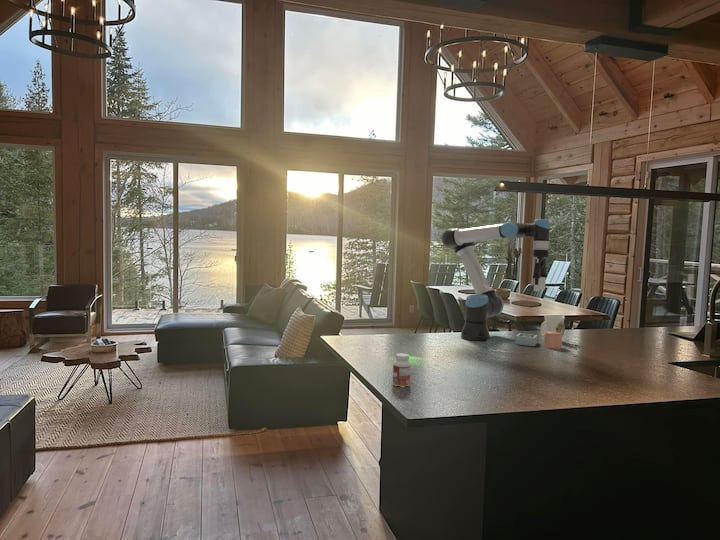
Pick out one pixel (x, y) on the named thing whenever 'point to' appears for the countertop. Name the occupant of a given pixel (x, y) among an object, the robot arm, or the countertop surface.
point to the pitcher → (553, 324)
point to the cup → (553, 340)
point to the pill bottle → (401, 370)
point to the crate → (526, 339)
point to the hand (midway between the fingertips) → (539, 290)
